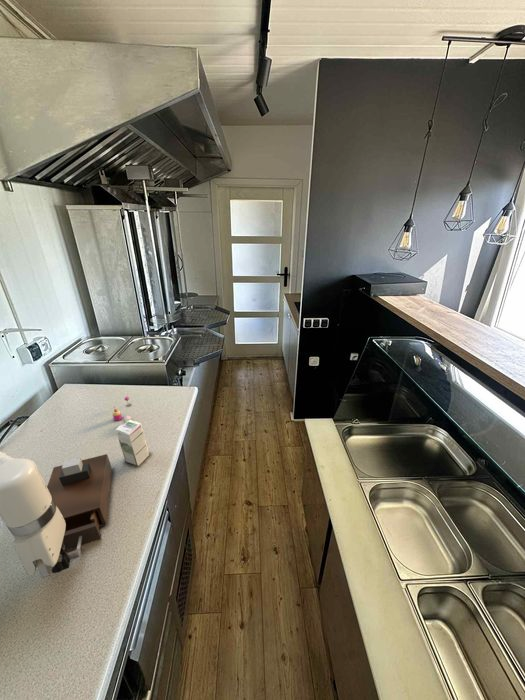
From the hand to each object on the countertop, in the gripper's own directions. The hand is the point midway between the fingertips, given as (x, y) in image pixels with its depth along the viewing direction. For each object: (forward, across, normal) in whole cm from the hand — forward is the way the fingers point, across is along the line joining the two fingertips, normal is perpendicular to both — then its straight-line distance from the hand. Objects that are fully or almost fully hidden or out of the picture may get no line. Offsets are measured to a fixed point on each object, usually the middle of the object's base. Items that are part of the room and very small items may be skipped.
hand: (62, 566), depth 65 cm
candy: (+4, -57, +9) cm, 58 cm away
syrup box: (+4, -32, +14) cm, 36 cm away
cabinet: (+4, -20, 0) cm, 21 cm away
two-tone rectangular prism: (-3, -23, 0) cm, 24 cm away
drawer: (+3, -13, 0) cm, 13 cm away
